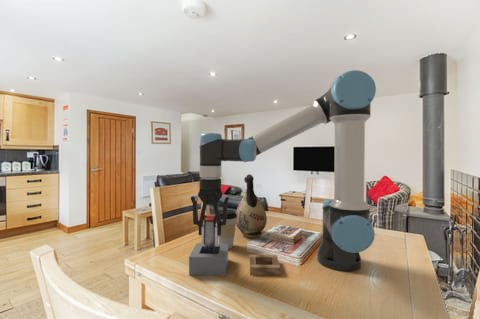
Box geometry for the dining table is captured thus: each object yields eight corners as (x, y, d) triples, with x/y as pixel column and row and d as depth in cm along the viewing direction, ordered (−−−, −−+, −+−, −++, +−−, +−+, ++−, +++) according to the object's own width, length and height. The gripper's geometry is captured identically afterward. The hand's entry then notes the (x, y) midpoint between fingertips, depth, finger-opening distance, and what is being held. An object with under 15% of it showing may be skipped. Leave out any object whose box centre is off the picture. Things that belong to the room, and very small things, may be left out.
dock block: (228, 259, 92) (228, 243, 92) (225, 275, 80) (225, 257, 80) (196, 259, 93) (196, 243, 93) (188, 274, 81) (188, 256, 80)
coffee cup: (234, 251, 100) (234, 215, 99) (211, 249, 102) (212, 213, 101) (238, 243, 109) (239, 209, 109) (218, 241, 111) (218, 208, 111)
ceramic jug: (234, 229, 128) (235, 172, 128) (264, 229, 129) (264, 172, 128) (235, 241, 111) (235, 175, 111) (269, 241, 112) (270, 175, 111)
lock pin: (217, 255, 89) (217, 214, 88) (215, 261, 84) (215, 217, 84) (204, 255, 89) (204, 214, 88) (201, 261, 84) (202, 217, 84)
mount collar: (276, 261, 91) (276, 255, 91) (280, 275, 81) (280, 267, 81) (249, 261, 91) (249, 254, 91) (250, 274, 81) (250, 267, 81)
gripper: (235, 177, 89) (234, 241, 90) (188, 176, 90) (188, 240, 90) (234, 179, 82) (233, 249, 82) (183, 178, 82) (182, 247, 83)
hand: (209, 244), depth 86 cm, fingers closed on lock pin, 4 cm apart
